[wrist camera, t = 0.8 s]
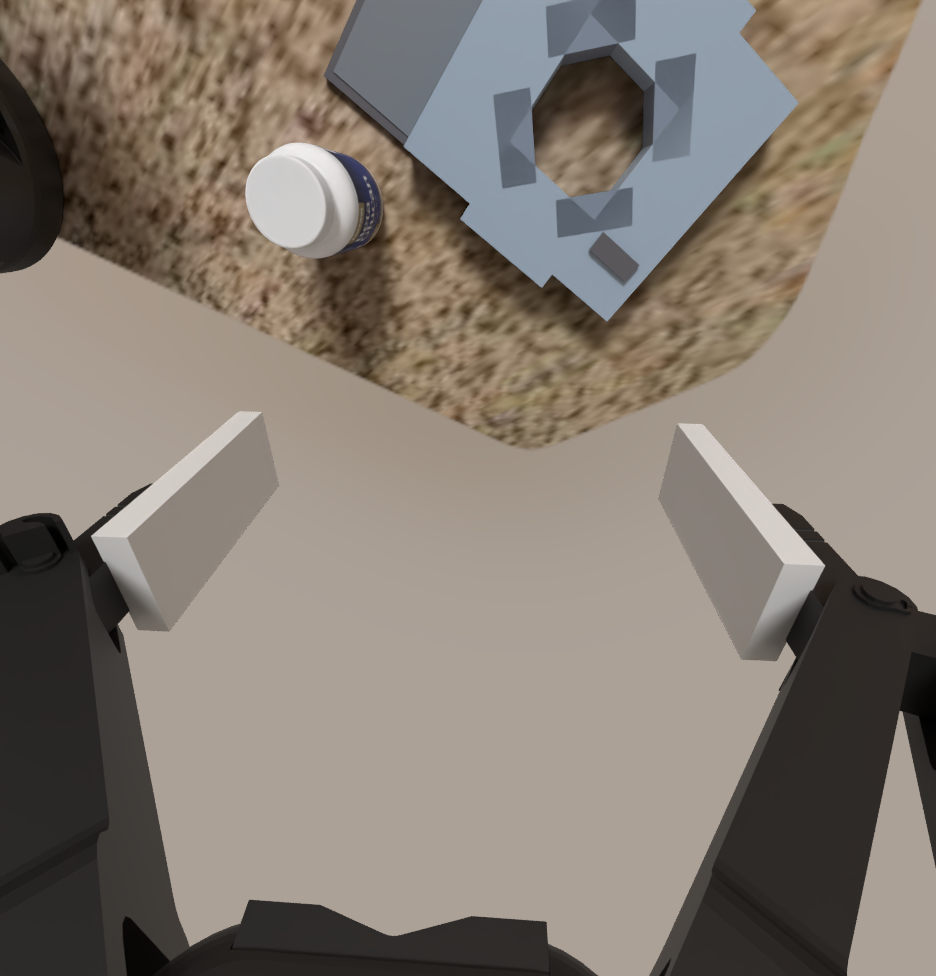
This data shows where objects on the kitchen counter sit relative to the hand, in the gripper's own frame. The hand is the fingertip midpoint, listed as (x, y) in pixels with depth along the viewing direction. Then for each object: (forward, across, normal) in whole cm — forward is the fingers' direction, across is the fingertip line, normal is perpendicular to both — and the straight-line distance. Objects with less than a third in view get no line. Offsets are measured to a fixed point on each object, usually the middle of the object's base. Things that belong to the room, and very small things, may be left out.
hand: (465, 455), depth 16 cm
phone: (+23, -4, +16) cm, 28 cm away
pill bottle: (+23, -9, +7) cm, 25 cm away
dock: (+22, +6, +10) cm, 25 cm away
